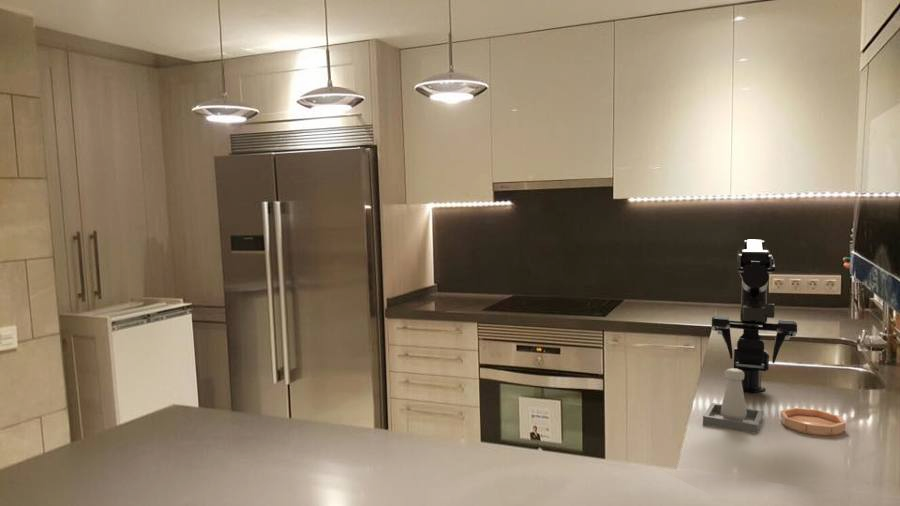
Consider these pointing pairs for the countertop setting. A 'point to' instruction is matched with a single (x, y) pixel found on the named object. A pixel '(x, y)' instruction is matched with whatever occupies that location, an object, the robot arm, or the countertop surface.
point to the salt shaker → (734, 396)
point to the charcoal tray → (733, 424)
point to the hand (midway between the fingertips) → (752, 361)
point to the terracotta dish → (812, 421)
